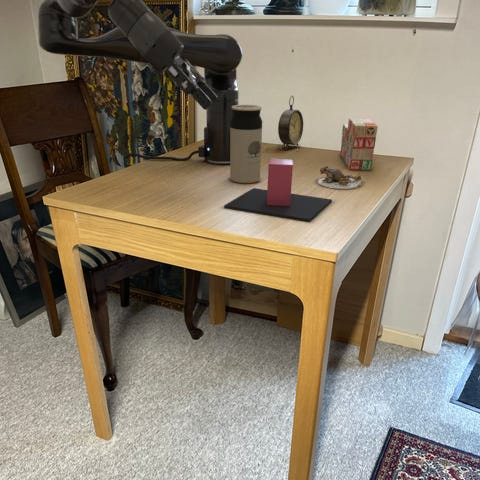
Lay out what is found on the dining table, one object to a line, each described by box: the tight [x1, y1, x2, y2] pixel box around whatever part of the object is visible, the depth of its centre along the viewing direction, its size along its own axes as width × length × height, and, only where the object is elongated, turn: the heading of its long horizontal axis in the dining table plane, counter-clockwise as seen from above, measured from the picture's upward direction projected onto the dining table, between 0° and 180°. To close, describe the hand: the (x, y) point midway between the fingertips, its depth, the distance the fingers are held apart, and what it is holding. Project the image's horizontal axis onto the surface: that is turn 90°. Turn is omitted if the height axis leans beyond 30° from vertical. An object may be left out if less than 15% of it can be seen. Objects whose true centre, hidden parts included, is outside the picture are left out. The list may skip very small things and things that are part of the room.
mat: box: [223, 187, 333, 223], centre depth 113 cm, size 20×16×1 cm
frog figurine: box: [317, 165, 363, 190], centre depth 129 cm, size 12×12×4 cm
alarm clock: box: [277, 95, 304, 151], centre depth 165 cm, size 11×5×16 cm, turn 148°
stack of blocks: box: [340, 117, 379, 171], centre depth 149 cm, size 21×6×12 cm, turn 178°
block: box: [266, 158, 294, 206], centre depth 111 cm, size 5×5×9 cm
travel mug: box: [229, 104, 263, 184], centre depth 127 cm, size 8×8×18 cm
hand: (211, 103), depth 107 cm, fingers open, 8 cm apart
